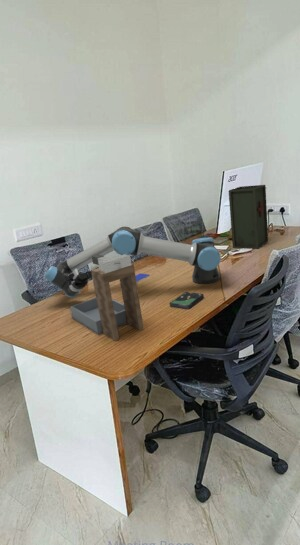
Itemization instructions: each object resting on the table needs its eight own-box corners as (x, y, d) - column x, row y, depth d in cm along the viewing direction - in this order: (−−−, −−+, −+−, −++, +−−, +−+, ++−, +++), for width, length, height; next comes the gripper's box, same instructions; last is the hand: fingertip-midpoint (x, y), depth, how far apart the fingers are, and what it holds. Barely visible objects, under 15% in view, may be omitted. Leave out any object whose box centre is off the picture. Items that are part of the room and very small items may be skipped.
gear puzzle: (241, 236, 293) (241, 231, 292) (231, 241, 282) (231, 236, 280) (207, 235, 313) (207, 230, 312) (197, 240, 302) (196, 235, 301)
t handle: (83, 266, 155) (81, 257, 154) (108, 258, 162) (106, 250, 160) (105, 273, 140) (103, 263, 139) (131, 265, 146) (130, 255, 145)
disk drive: (185, 297, 185) (169, 308, 173) (185, 291, 184) (169, 302, 173) (204, 299, 179) (189, 310, 167) (203, 293, 178) (188, 304, 167)
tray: (72, 318, 177) (69, 306, 175) (105, 306, 186) (103, 294, 184) (98, 334, 155) (95, 321, 153) (134, 320, 164) (132, 307, 163)
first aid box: (258, 248, 249) (254, 188, 238) (232, 248, 260) (228, 190, 249) (268, 242, 263) (265, 184, 251) (243, 241, 274) (239, 186, 263)
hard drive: (135, 281, 215) (149, 274, 224) (125, 279, 221) (139, 273, 229) (136, 283, 216) (149, 276, 224) (126, 282, 221) (140, 275, 230)
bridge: (103, 333, 156) (90, 270, 148) (131, 322, 163) (120, 261, 155) (114, 340, 148) (102, 274, 140) (143, 328, 155) (133, 264, 147)
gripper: (103, 282, 188) (118, 267, 170) (57, 297, 175) (67, 283, 157) (97, 268, 189) (111, 253, 171) (51, 282, 176) (61, 267, 159)
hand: (90, 267), depth 164 cm, fingers open, 13 cm apart
